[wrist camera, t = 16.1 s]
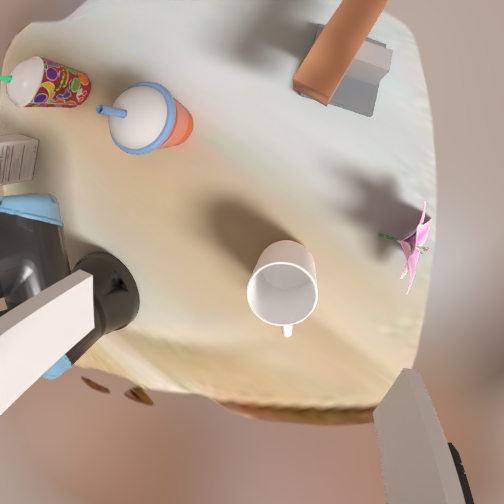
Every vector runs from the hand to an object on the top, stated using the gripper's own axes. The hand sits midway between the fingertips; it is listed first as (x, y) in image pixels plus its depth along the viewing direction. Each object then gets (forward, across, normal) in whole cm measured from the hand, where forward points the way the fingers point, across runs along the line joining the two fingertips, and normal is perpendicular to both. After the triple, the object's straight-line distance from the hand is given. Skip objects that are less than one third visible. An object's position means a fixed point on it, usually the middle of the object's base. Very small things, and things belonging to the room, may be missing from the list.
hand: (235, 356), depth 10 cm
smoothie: (+32, -41, +14) cm, 54 cm away
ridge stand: (+32, +3, +23) cm, 39 cm away
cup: (+32, +3, -9) cm, 33 cm away
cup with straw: (+32, -19, +9) cm, 38 cm away
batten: (+23, +2, +23) cm, 33 cm away
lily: (+32, +18, +2) cm, 37 cm away
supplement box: (+32, -56, 0) cm, 64 cm away
